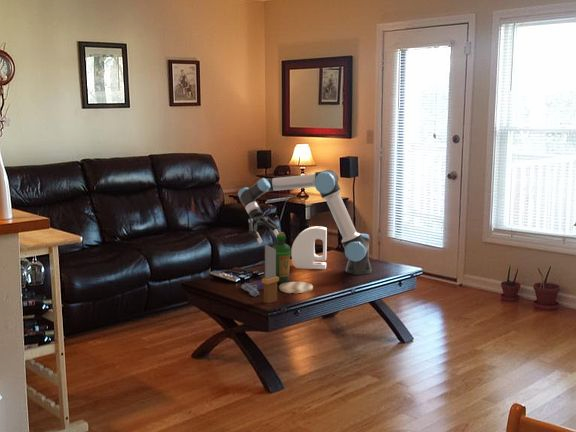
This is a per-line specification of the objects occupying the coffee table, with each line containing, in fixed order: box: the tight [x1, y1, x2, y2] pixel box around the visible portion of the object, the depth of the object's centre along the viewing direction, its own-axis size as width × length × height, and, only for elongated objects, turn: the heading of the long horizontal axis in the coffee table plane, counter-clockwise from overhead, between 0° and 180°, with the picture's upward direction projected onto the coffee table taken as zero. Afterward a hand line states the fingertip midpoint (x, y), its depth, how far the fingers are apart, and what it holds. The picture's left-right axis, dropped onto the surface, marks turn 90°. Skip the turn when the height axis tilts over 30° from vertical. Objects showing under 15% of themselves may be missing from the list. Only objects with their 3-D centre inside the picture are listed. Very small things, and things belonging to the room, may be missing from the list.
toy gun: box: [240, 280, 264, 297], centre depth 350 cm, size 4×19×15 cm
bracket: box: [290, 225, 328, 270], centre depth 400 cm, size 7×21×25 cm, turn 82°
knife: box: [261, 244, 279, 304], centre depth 331 cm, size 8×4×30 cm, turn 136°
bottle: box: [272, 231, 292, 284], centre depth 368 cm, size 11×11×28 cm
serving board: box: [279, 281, 314, 295], centre depth 355 cm, size 18×18×2 cm
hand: (270, 241), depth 373 cm, fingers open, 13 cm apart
